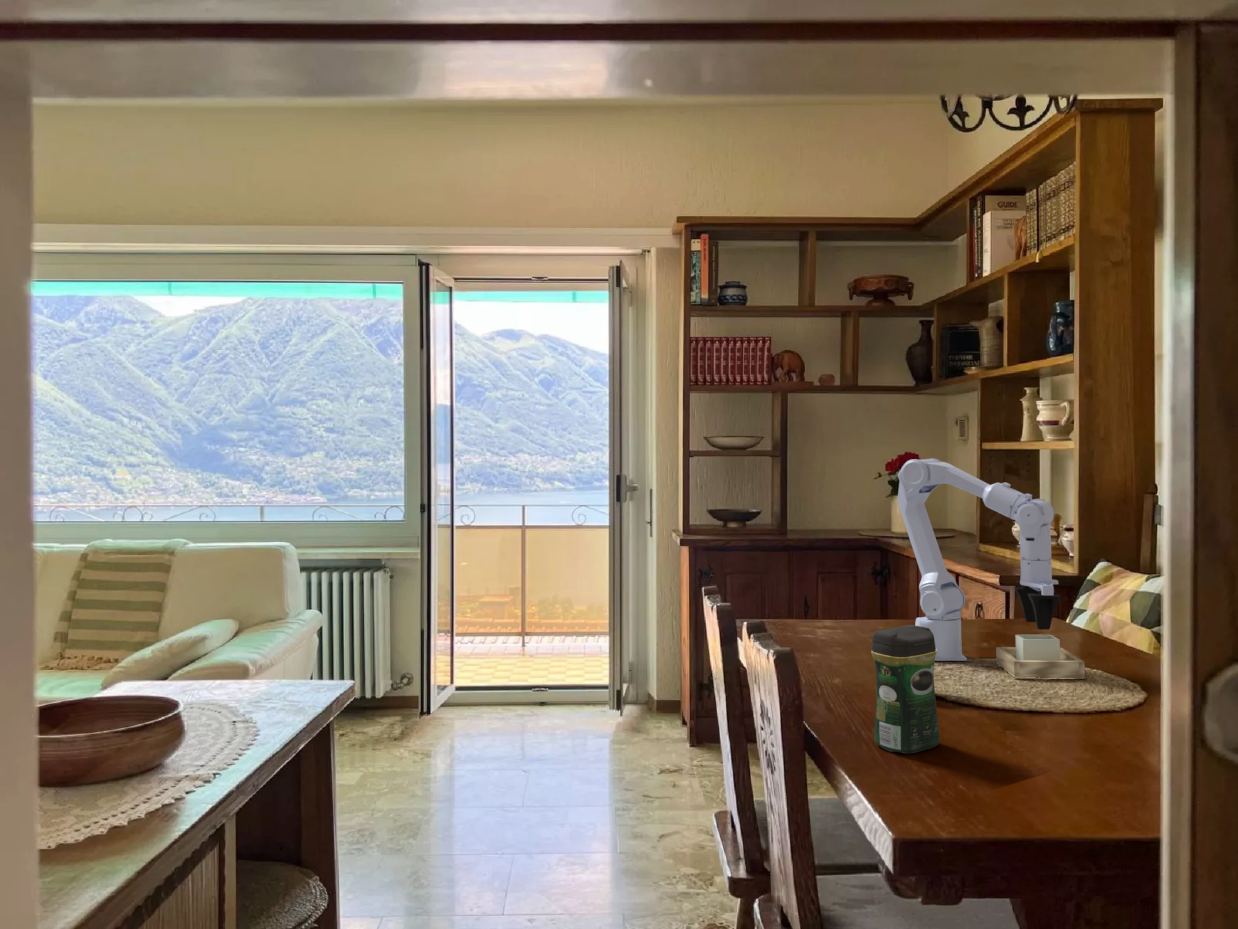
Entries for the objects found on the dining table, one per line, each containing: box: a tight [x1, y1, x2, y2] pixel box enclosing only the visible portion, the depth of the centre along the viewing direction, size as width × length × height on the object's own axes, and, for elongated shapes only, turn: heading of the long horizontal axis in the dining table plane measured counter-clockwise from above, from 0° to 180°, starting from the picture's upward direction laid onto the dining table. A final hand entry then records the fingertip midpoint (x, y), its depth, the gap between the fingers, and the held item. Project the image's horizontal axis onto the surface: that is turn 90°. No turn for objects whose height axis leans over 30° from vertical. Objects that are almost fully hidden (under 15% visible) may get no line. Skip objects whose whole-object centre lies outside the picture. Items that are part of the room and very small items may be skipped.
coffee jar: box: [870, 624, 941, 754], centre depth 136 cm, size 10×8×19 cm
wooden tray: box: [995, 646, 1086, 679], centre depth 178 cm, size 13×13×4 cm
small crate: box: [1014, 634, 1061, 661], centre depth 178 cm, size 7×5×6 cm
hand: (1037, 625), depth 178 cm, fingers open, 7 cm apart
